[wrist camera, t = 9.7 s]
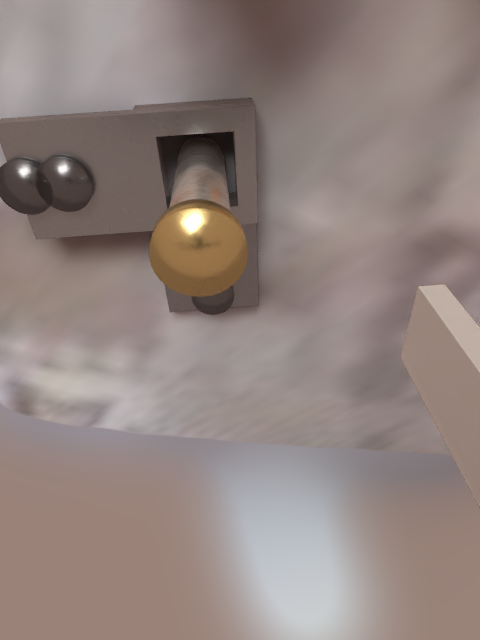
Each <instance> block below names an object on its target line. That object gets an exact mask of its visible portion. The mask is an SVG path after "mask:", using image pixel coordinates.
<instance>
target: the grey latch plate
mask: <svg viewBox="0 0 480 640" xmlns="http://www.w3.org/2000/svg"><path fill="white" fill-rule="evenodd" d="M242 102H253V100H252V98H242V99H227V100H212V101H197V102H182V103H167V104H152V105H137V106H135V107H134V108H133V110H137V109H152V108H167V107H182V106H197V105H212V104H227V103H242ZM159 142H160V149H161V155H162V162H163V168H164V174H165V181H166V187H167V194H168V200H169V204H170V201H171V197H170V191H169V185H168V178H167V171H166V165H165V158H164V152H163V145H162V139H161V136H159ZM233 149H234V136H233ZM234 166H235V154H234ZM235 184H236V172H235ZM228 195H229V200H231V199H237V190H236V192H233V193H228ZM241 225H242V227H243V230H244V233H245V238H246V244H247V251H248V257H247V263H246V266H245V269H244V271H243V273H242V275H241V276H240V278H239V279H238V280H237V281H236V282H235V283H234V284H233V285H232V286H231V287H229V288H228V289H226V290H224V291H222V292H220V293H218V294H215V295H211V296H204V297H196V296H189V295H184V294H181V293H179V292H176V291H174V290H172V289H171V288H169V287H168V286H166V285H165V288H166V294H167V299H168V305H169V310H170V312H181V311H194V310H199V311H201V312H203V313H206V314H220V313H223V312H225V311H226V310H227V309H229V308H233V307H246V306H259V296H258V260H257V224H256V223H253V224H241Z"/></svg>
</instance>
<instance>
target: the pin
mask: <svg viewBox="0 0 480 640" xmlns="http://www.w3.org/2000/svg"><path fill="white" fill-rule="evenodd" d="M149 257H150V262H151V265H152V268H153V270H154V272H155V273H156V275H157V276H158V278H159V279H160V280H161V281H162V282H163V283H164V284H165V285H166V286H168V287H169V288H171V289H172V290H174V291H176V292H179V293H181V294H184V295H189V296H196V297H204V296H211V295H215V294H218V293H220V292H222V291H224V290H226V289H228V288H229V287H231V286H232V285H233V284H234V283H235V282H236V281H237V280H238V279H239V278H240V276H241V275H242V273H243V271H244V269H245V266H246V263H247V257H248V251H247V244H246V238H245V233H244V230H243V227H242V225H241V223H240V222H239V220H238V219H237V217H236V216H235V215H234V214H233V213H232V212H231V211H230V203H229V195H228V186H227V178H226V170H225V161H224V155H223V152H222V150H221V148H220V146H219V145H218V144H217V143H216V142H215V141H213V140H212V139H209V138H207V137H194V138H192V139H190V140H188V141H187V142H185V143H184V145H183V146H182V147H181V149H180V152H179V156H178V161H177V167H176V173H175V178H174V184H173V190H172V195H171V201H170V207H169V208H168V209H167V210H166V211H165V212H164V213H163V214H162V215H161V216H160V217H159V219H158V220H157V222H156V224H155V226H154V229H153V232H152V237H151V241H150V246H149Z"/></svg>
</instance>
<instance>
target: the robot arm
mask: <svg viewBox="0 0 480 640" xmlns="http://www.w3.org/2000/svg"><path fill="white" fill-rule="evenodd" d="M401 359H402V361H403V363H404V365H405V367H406V369H407V371H408V373H409V374H410V376H411V378H412V380H413V382H414V384H415V386H416V388H417V390H418V392H419V393H420V395H421V397H422V399H423V401H424V403H425V405H426V407H427V409H428V411H429V412H430V414H431V416H432V418H433V420H434V422H435V424H436V426H437V428H438V430H439V432H440V433H441V435H442V437H443V439H444V441H445V443H446V445H447V447H448V449H449V451H450V452H451V454H452V456H453V458H454V460H455V462H456V464H457V466H458V468H459V470H460V471H461V473H462V475H463V477H464V479H465V481H466V483H467V485H468V487H469V489H470V490H471V492H472V494H473V496H474V498H475V500H476V502H477V504H478V506H479V508H480V328H479V326H478V325H477V324H476V323H475V321H474V320H473V319H472V318H471V316H470V315H469V314H468V313H467V312H466V310H465V309H464V308H463V307H462V305H461V304H460V303H459V302H458V300H457V299H456V298H455V297H454V295H453V294H452V293H451V292H450V290H449V289H448V288H447V287H446V286H445V285H432V286H418V289H417V293H416V297H415V301H414V305H413V309H412V313H411V317H410V321H409V325H408V329H407V333H406V337H405V341H404V345H403V349H402V353H401Z"/></svg>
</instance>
